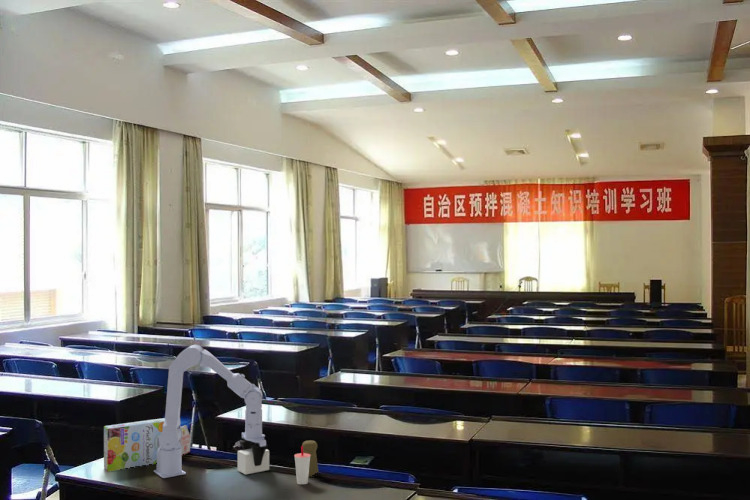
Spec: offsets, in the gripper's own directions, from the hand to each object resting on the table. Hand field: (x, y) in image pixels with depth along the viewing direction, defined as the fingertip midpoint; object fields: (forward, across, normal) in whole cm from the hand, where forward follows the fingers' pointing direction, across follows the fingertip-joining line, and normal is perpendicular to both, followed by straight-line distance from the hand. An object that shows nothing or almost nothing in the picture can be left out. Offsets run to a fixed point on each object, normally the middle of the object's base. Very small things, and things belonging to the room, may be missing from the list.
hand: (253, 463), depth 235 cm
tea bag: (+3, +36, +12) cm, 38 cm away
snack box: (+3, +31, +30) cm, 43 cm away
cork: (+3, -14, -14) cm, 20 cm away
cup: (+3, -21, -7) cm, 22 cm away
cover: (+2, 0, 0) cm, 2 cm away
